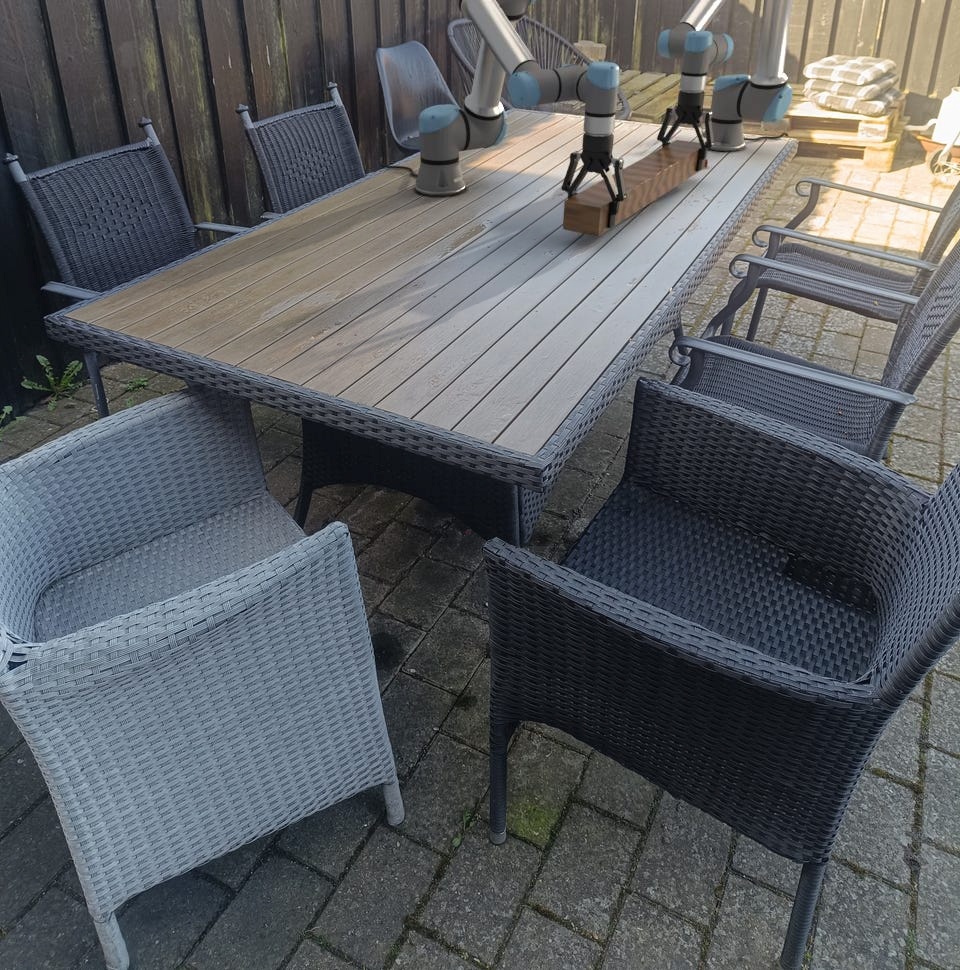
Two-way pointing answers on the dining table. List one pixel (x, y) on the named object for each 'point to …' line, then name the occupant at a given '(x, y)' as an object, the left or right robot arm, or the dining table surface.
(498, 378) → the dining table surface
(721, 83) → the right robot arm
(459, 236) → the dining table surface
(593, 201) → the thick board
